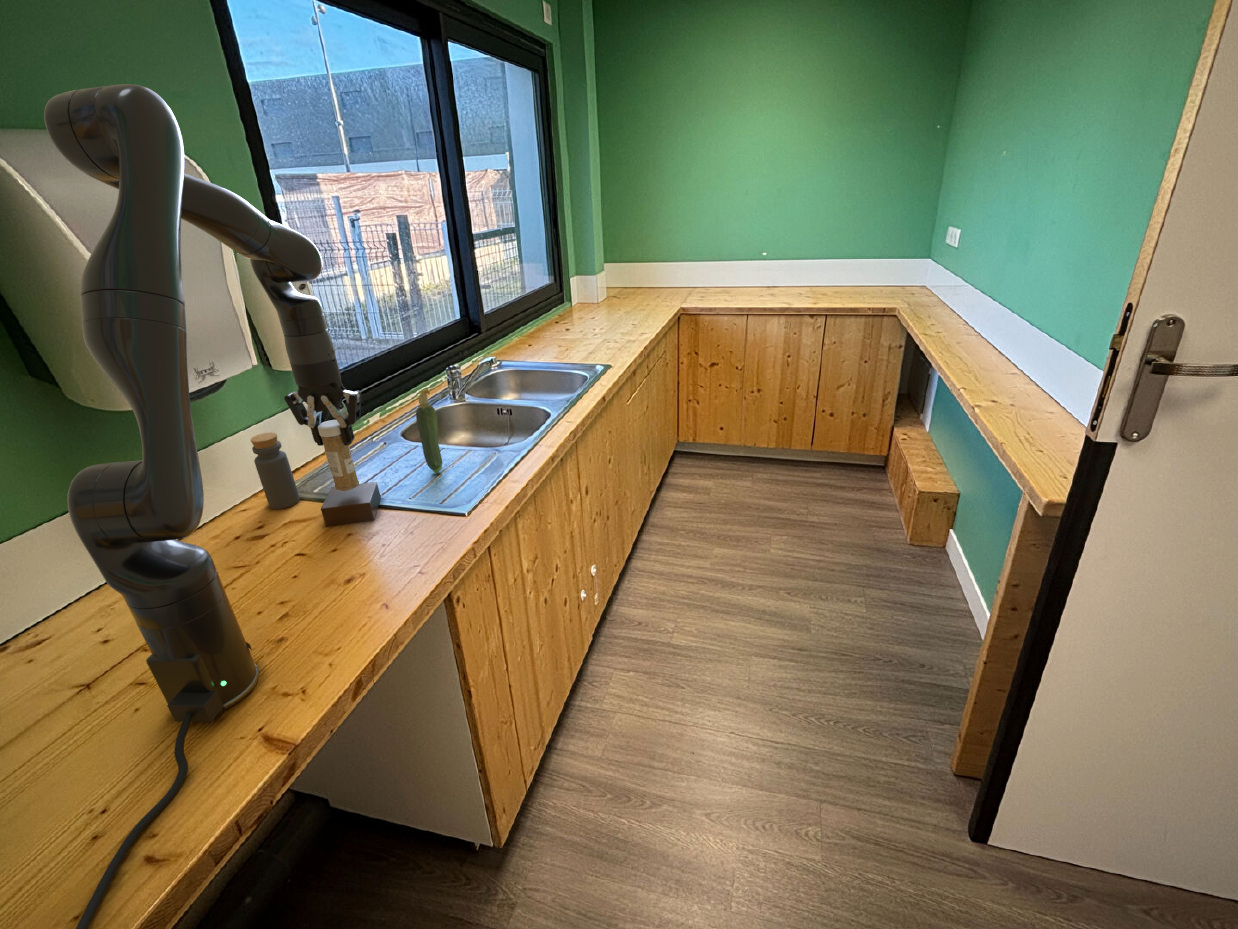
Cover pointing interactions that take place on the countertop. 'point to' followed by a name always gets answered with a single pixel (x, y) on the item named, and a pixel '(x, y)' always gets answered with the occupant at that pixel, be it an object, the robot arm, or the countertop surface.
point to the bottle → (274, 471)
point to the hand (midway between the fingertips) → (335, 443)
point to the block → (351, 504)
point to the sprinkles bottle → (338, 456)
